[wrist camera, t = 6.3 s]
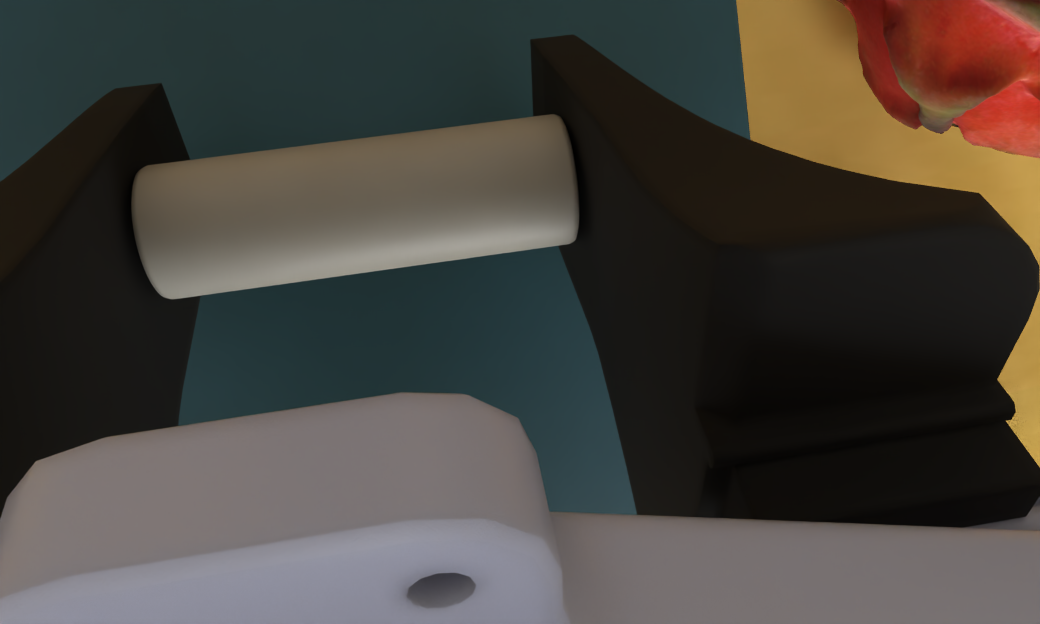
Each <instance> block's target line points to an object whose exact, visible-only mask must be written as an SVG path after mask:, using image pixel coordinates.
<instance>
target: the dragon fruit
mask: <svg viewBox="0 0 1040 624" xmlns="http://www.w3.org/2000/svg"><path fill="white" fill-rule="evenodd" d="M837 1H839V2H841V3H842V4H843V5H844V6H845V7H846V8H847V9H848V10H849V11H850V12H851V14H852V16H853V17H854V19H855V22H856V25H857V33H858V52H859V59H860V61H861V64H862V67H863V75H864V77H865V79H866V81H867V83H868V85H869V87H870V88H871V90H872V91H873V93H874V95H875V96H876V97H877V99H878V100H879V102H880V103H881V104H882V105H883V107H884V109H885V110H886V112H887V113H889V114H890V115H891V116H892V117H893V118H895V119H896V120H898V121H899V122H901V123H903V124H904V125H906V126H908V127H911V128H913V129H917V128H919V127H920V126H922V125H923V126H924V127H925V128H927V129H929V130H931V131H934V132H936V133H940V134H942V133H944V131H947V130H948V129H949V128H950V127H951V126H954V127H959V128H960V130H961V132H962V134H963V137H964V139H965V140H966V141H968V142H969V143H971V144H972V145H976V146H984V147H990V148H993V149H995V150H999V151H1003V152H1006V153H1010V154H1015V155H1023V156H1029V157H1036V158H1040V0H837Z"/></svg>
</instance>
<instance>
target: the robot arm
mask: <svg viewBox="0 0 1040 624" xmlns="http://www.w3.org/2000/svg"><path fill="white" fill-rule="evenodd" d="M530 47H531V73H532V100H533V117H534V116H542V115H550V114H555V115H558V116H560V117H561V118H562V120H563V122H564V124H565V126H566V128H567V131H568V134H569V137H570V141H571V145H572V149H573V154H574V160H575V166H576V173H577V181H578V191H579V228H578V233H577V237H576V240H575V241H574V242H572V243H570V244H566V245H559V246H558V247H559V250H560V252H561V255H562V257H563V260H564V263H565V265H566V268H567V270H568V273H569V276H570V278H571V281H572V283H573V286H574V288H575V291H576V294H577V296H578V299H579V301H580V304H581V306H582V309H583V312H584V314H585V317H586V319H587V322H588V325H589V327H590V330H591V333H592V336H593V339H594V342H595V345H596V348H597V351H598V355H599V359H600V362H601V366H602V370H603V374H604V378H605V382H606V386H607V390H608V394H609V398H610V401H611V405H612V409H613V413H614V418H615V422H616V426H617V430H618V434H619V438H620V442H621V447H622V451H623V455H624V459H625V463H626V467H627V472H628V476H629V481H630V485H631V489H632V494H633V498H634V503H635V507H636V512H637V515H626V514H601V513H575V512H549V508H548V503H547V499H546V494H545V490H544V485H543V480H542V476H541V471H540V467H539V462H538V457H537V453H536V451H535V449H534V447H533V445H532V443H531V442H530V440H529V438H528V436H527V434H526V432H525V430H524V428H523V426H522V424H521V423H520V421H519V419H518V418H517V417H515V416H513V415H511V414H508V413H506V412H504V411H502V410H500V409H498V408H495V407H493V406H491V405H489V404H487V403H484V402H482V401H480V400H478V399H476V398H474V397H471V396H469V395H466V394H456V393H411V392H400V393H394V394H387V395H380V396H374V397H367V398H361V399H354V400H347V401H341V402H334V403H328V404H321V405H314V406H308V407H301V408H295V409H288V410H281V411H275V412H268V413H262V414H255V415H249V416H242V417H235V418H229V419H222V420H216V421H209V422H202V423H196V424H189V425H183V426H178V424H179V413H180V405H181V398H182V391H183V385H184V380H185V375H186V369H187V364H188V359H189V354H190V349H191V344H192V338H193V333H194V328H195V323H196V318H197V313H198V307H199V302H200V297H201V296H194V297H187V298H180V299H169V298H165V297H163V296H161V295H160V294H159V293H158V292H157V291H156V290H155V288H154V287H153V285H152V284H151V282H150V280H149V278H148V276H147V274H146V272H145V269H144V267H143V264H142V262H141V259H140V256H139V252H138V249H137V245H136V241H135V236H134V230H133V223H132V212H131V199H132V187H133V182H134V178H135V176H136V174H137V172H138V171H139V170H140V169H142V168H143V167H145V166H147V165H155V164H163V163H171V162H179V161H186V160H190V157H189V155H188V152H187V149H186V147H185V144H184V141H183V139H182V136H181V133H180V131H179V128H178V125H177V123H176V120H175V117H174V115H173V112H172V109H171V106H170V104H169V101H168V98H167V96H166V93H165V90H164V88H163V85H162V83H156V84H148V85H139V86H131V87H122V88H115V89H113V90H112V91H110V92H109V93H107V94H106V95H104V96H103V97H101V98H100V99H99V100H98V101H96V102H95V103H94V104H93V105H91V106H90V107H89V108H88V109H87V110H85V111H84V112H83V113H82V114H81V115H80V116H78V117H77V118H76V119H75V120H74V121H73V122H71V123H70V124H69V125H68V126H67V127H66V128H65V129H63V130H62V131H61V132H60V133H59V134H58V135H56V136H55V137H54V138H53V139H52V140H51V141H49V142H48V143H47V144H46V145H45V146H44V147H42V148H41V149H40V150H39V151H38V152H37V153H36V154H34V155H33V156H32V157H31V158H30V159H28V160H27V161H26V162H25V163H24V164H22V165H21V166H20V167H19V168H17V169H16V170H15V171H13V172H12V173H11V174H10V175H8V176H7V177H6V178H4V179H3V180H2V181H1V182H0V624H1040V468H1039V466H1038V465H1037V463H1036V462H1035V461H1034V459H1033V458H1032V457H1031V455H1030V454H1029V452H1028V451H1027V450H1026V448H1025V447H1024V446H1023V444H1022V443H1021V442H1020V440H1019V439H1018V437H1017V436H1016V435H1015V433H1014V432H1013V431H1012V429H1011V428H1010V426H1009V425H1008V424H1007V422H1006V420H1011V419H1012V417H1013V416H1014V414H1015V412H1016V410H1015V404H1014V402H1013V400H1012V399H1011V398H1010V396H1009V395H1008V394H1007V392H1006V391H1005V390H1004V388H1003V387H1002V386H1001V384H1000V383H999V382H998V380H997V378H998V377H999V375H1000V373H1001V371H1002V369H1003V367H1004V365H1005V363H1006V361H1007V359H1008V357H1009V355H1010V354H1011V352H1012V350H1013V348H1014V346H1015V344H1016V342H1017V340H1018V338H1019V336H1020V334H1021V333H1022V331H1023V329H1024V327H1025V325H1026V323H1027V321H1028V319H1029V317H1030V314H1031V312H1032V309H1033V306H1034V303H1035V300H1036V298H1037V295H1038V292H1039V289H1040V283H1039V264H1038V263H1037V261H1036V259H1035V257H1034V255H1033V253H1032V251H1031V249H1030V247H1029V246H1028V245H1027V244H1026V243H1025V242H1024V240H1023V239H1022V238H1021V237H1020V236H1019V235H1018V234H1017V233H1016V232H1015V231H1014V230H1013V229H1012V228H1011V226H1010V225H1009V224H1008V223H1007V222H1006V221H1005V220H1004V219H1003V218H1002V217H1001V216H1000V215H999V214H998V212H997V211H996V210H995V209H994V208H993V207H992V206H991V205H990V204H989V203H988V202H987V201H986V200H985V199H984V198H983V197H982V196H981V195H980V194H979V193H975V192H968V191H961V190H953V189H946V188H939V187H932V186H925V185H918V184H911V183H904V182H897V181H892V180H887V179H882V178H878V177H873V176H869V175H864V174H860V173H855V172H851V171H846V170H842V169H838V168H834V167H831V166H827V165H823V164H819V163H816V162H812V161H809V160H806V159H803V158H800V157H797V156H794V155H791V154H788V153H785V152H782V151H778V150H775V149H773V148H770V147H767V146H765V145H762V144H759V143H757V142H754V141H751V140H749V139H747V138H745V137H742V136H740V135H738V134H735V133H733V132H731V131H729V130H726V129H724V128H722V127H720V126H717V125H715V124H713V123H711V122H709V121H707V120H705V119H703V118H701V117H699V116H697V115H696V114H694V113H692V112H690V111H689V110H687V109H685V108H683V107H682V106H680V105H678V104H676V103H674V102H673V101H671V100H669V99H668V98H666V97H664V96H663V95H661V94H660V93H658V92H656V91H655V90H653V89H652V88H650V87H649V86H647V85H645V84H644V83H642V82H641V81H639V80H638V79H637V78H635V77H634V76H632V75H631V74H629V73H628V72H626V71H625V70H624V69H622V68H621V67H619V66H618V65H616V64H615V63H614V62H612V61H611V60H610V59H608V58H607V57H605V56H604V55H603V54H601V53H600V52H599V51H597V50H596V49H594V48H593V47H592V46H590V45H589V44H588V43H586V42H585V41H583V40H582V39H580V38H579V37H577V36H575V35H574V34H571V35H563V36H554V37H546V38H537V39H530Z"/></svg>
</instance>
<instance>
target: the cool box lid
mask: <svg viewBox="0 0 1040 624" xmlns="http://www.w3.org/2000/svg"><path fill="white" fill-rule="evenodd" d="M571 34H574V35H575V36H577V37H579V38H580V39H582V40H583V41H585V42H586V43H588V44H589V45H590V46H592V47H593V48H594V49H596V50H597V51H599V52H600V53H601V54H603V55H604V56H605V57H607V58H608V59H610V60H611V61H612V62H614V63H615V64H616V65H618V66H619V67H621V68H622V69H624V70H625V71H626V72H628V73H629V74H631V75H632V76H634V77H635V78H637V79H638V80H639V81H641V82H642V83H644V84H645V85H647V86H649V87H650V88H652V89H653V90H655V91H656V92H658V93H660V94H661V95H663V96H664V97H666V98H668V99H669V100H671V101H673V102H674V103H676V104H678V105H680V106H682V107H683V108H685V109H687V110H689V111H690V112H692V113H694V114H696V115H697V116H699V117H701V118H703V119H705V120H707V121H709V122H711V123H713V124H715V125H717V126H720V127H722V128H724V129H726V130H729V131H731V132H733V133H735V134H738V135H740V136H742V137H745V138H747V139H749V140H750V131H749V122H748V112H747V102H746V92H745V83H744V73H743V63H742V54H741V44H740V34H739V24H738V15H737V5H736V0H0V182H1V181H2V180H3V179H4V178H6V177H7V176H8V175H10V174H11V173H12V172H13V171H15V170H16V169H17V168H19V167H20V166H21V165H22V164H24V163H25V162H26V161H27V160H28V159H30V158H31V157H32V156H33V155H34V154H36V153H37V152H38V151H39V150H40V149H41V148H42V147H44V146H45V145H46V144H47V143H48V142H49V141H51V140H52V139H53V138H54V137H55V136H56V135H58V134H59V133H60V132H61V131H62V130H63V129H65V128H66V127H67V126H68V125H69V124H70V123H71V122H73V121H74V120H75V119H76V118H77V117H78V116H80V115H81V114H82V113H83V112H84V111H85V110H87V109H88V108H89V107H90V106H91V105H93V104H94V103H95V102H96V101H98V100H99V99H100V98H101V97H103V96H104V95H106V94H107V93H109V92H110V91H112V90H113V89H115V88H122V87H131V86H139V85H148V84H156V83H162V85H163V88H164V90H165V93H166V96H167V98H168V101H169V104H170V106H171V109H172V112H173V115H174V117H175V120H176V123H177V125H178V128H179V131H180V133H181V136H182V139H183V141H184V144H185V147H186V149H187V152H188V155H189V157H190V160H186V161H179V162H171V163H163V164H155V165H147V166H145V167H143V168H142V169H140V170H139V171H138V172H137V174H136V176H135V178H134V182H133V187H132V199H131V212H132V223H133V230H134V236H135V241H136V245H137V249H138V252H139V256H140V259H141V262H142V264H143V267H144V269H145V272H146V274H147V276H148V278H149V280H150V282H151V284H152V285H153V287H154V288H155V290H156V291H157V292H158V293H159V294H160V295H161V296H163V297H165V298H169V299H180V298H187V297H194V296H201V297H200V302H199V307H198V313H197V318H196V323H195V328H194V333H193V338H192V344H191V349H190V354H189V359H188V364H187V369H186V375H185V380H184V385H183V391H182V398H181V405H180V413H179V424H178V426H183V425H189V424H196V423H202V422H209V421H216V420H222V419H229V418H235V417H242V416H249V415H255V414H262V413H268V412H275V411H281V410H288V409H295V408H301V407H308V406H314V405H321V404H328V403H334V402H341V401H347V400H354V399H361V398H367V397H374V396H380V395H387V394H394V393H400V392H411V393H456V394H466V395H469V396H471V397H474V398H476V399H478V400H480V401H482V402H484V403H487V404H489V405H491V406H493V407H495V408H498V409H500V410H502V411H504V412H506V413H508V414H511V415H513V416H515V417H517V418H518V419H519V421H520V423H521V424H522V426H523V428H524V430H525V432H526V434H527V436H528V438H529V440H530V442H531V443H532V445H533V447H534V449H535V451H536V453H537V457H538V462H539V467H540V471H541V476H542V480H543V485H544V490H545V494H546V499H547V503H548V508H549V512H575V513H601V514H626V515H637V512H636V507H635V503H634V498H633V494H632V489H631V485H630V481H629V476H628V472H627V467H626V463H625V459H624V455H623V451H622V447H621V442H620V438H619V434H618V430H617V426H616V422H615V418H614V413H613V409H612V405H611V401H610V398H609V394H608V390H607V386H606V382H605V378H604V374H603V370H602V366H601V362H600V359H599V355H598V351H597V348H596V345H595V342H594V339H593V336H592V333H591V330H590V327H589V325H588V322H587V319H586V317H585V314H584V312H583V309H582V306H581V304H580V301H579V299H578V296H577V294H576V291H575V288H574V286H573V283H572V281H571V278H570V276H569V273H568V270H567V268H566V265H565V263H564V260H563V257H562V255H561V252H560V250H559V247H558V246H559V245H566V244H570V243H572V242H574V241H575V240H576V237H577V233H578V228H579V191H578V181H577V173H576V166H575V160H574V154H573V149H572V145H571V141H570V137H569V134H568V131H567V128H566V126H565V124H564V122H563V120H562V118H561V117H560V116H558V115H555V114H550V115H542V116H534V117H533V100H532V73H531V47H530V39H537V38H546V37H554V36H563V35H571Z"/></svg>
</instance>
